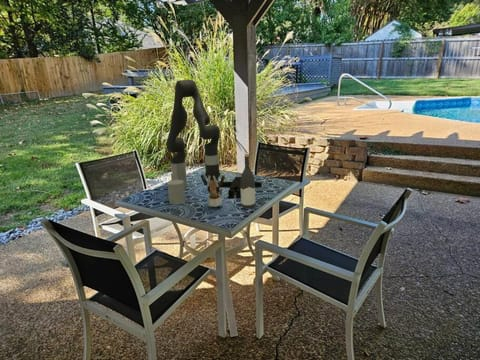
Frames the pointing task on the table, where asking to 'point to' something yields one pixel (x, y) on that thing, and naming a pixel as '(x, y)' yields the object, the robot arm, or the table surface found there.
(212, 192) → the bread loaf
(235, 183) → the toy
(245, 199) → the wine bottle
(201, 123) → the robot arm
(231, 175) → the table surface
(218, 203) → the mug
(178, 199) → the speckled stone cylinder
